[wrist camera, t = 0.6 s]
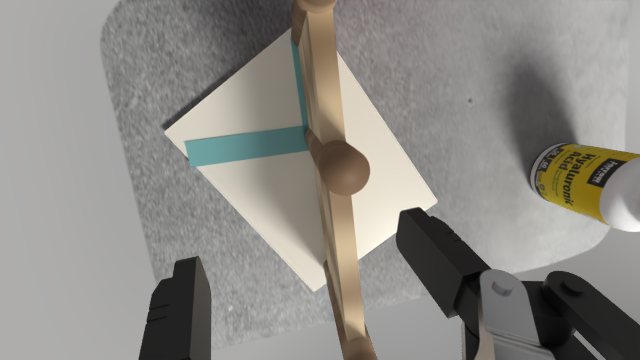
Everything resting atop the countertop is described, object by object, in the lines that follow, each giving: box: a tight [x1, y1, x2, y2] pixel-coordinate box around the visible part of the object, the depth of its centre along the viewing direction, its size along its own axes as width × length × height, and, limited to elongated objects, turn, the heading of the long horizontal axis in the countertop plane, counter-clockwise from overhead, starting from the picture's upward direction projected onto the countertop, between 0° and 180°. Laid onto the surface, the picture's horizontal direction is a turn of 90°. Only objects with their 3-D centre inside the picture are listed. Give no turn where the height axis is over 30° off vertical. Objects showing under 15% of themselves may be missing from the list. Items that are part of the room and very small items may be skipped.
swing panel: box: [313, 160, 378, 360], centre depth 26 cm, size 14×2×14 cm, turn 7°
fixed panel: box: [291, 0, 370, 196], centre depth 21 cm, size 12×3×15 cm, turn 7°
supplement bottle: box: [530, 143, 640, 232], centre depth 29 cm, size 7×7×13 cm
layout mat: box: [164, 27, 438, 292], centre depth 31 cm, size 18×24×1 cm
